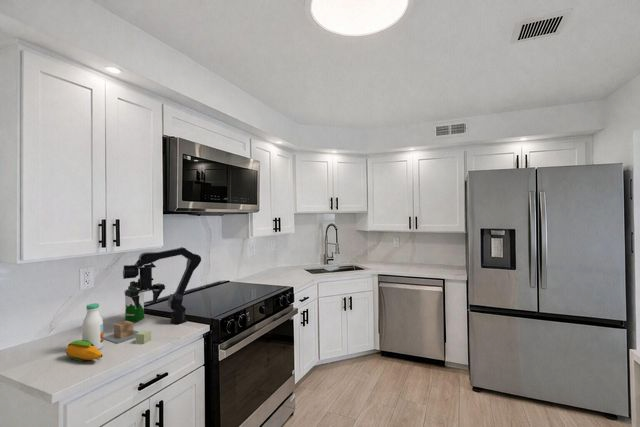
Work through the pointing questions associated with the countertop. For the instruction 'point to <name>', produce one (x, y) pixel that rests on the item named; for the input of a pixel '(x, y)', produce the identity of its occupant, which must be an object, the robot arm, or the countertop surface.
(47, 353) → the countertop surface
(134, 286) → the robot arm
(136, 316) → the milk carton
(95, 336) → the milk bottle
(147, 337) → the olive block
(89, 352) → the corn
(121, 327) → the walnut cube
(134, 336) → the slate coaster
